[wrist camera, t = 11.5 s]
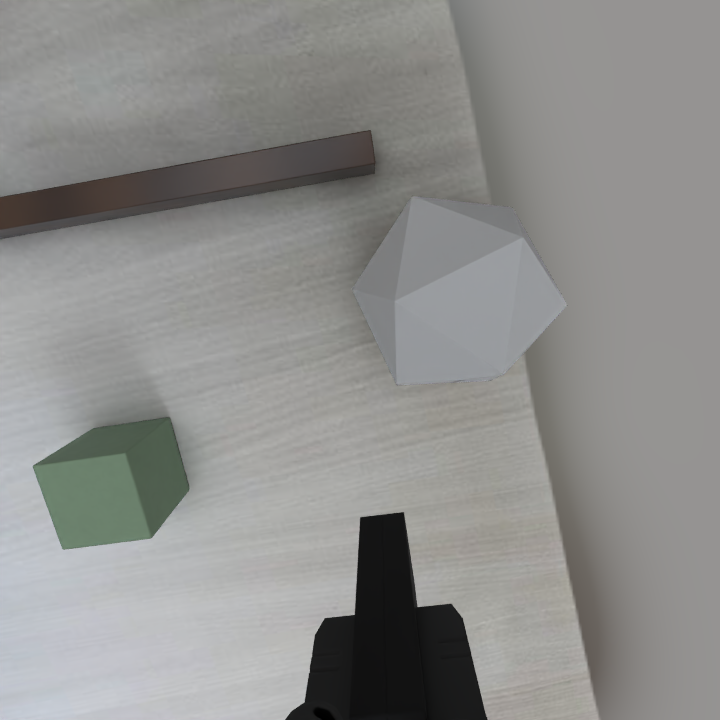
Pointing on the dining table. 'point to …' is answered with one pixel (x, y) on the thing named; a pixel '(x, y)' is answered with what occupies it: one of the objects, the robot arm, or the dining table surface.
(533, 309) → the die
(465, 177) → the dining table surface
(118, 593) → the dining table surface
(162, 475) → the sage block
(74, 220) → the rail
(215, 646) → the dining table surface
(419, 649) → the robot arm
